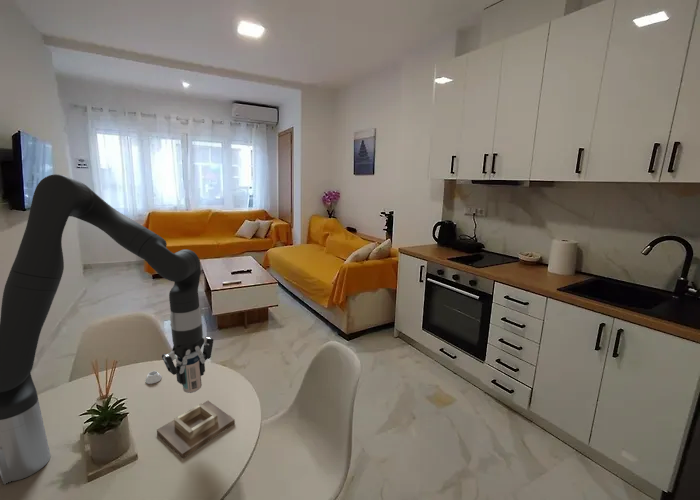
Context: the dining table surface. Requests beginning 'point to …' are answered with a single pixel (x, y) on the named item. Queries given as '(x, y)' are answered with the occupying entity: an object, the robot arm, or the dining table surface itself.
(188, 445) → the board
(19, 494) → the dining table surface
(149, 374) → the white rounded piece
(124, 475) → the dining table surface
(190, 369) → the beer can
